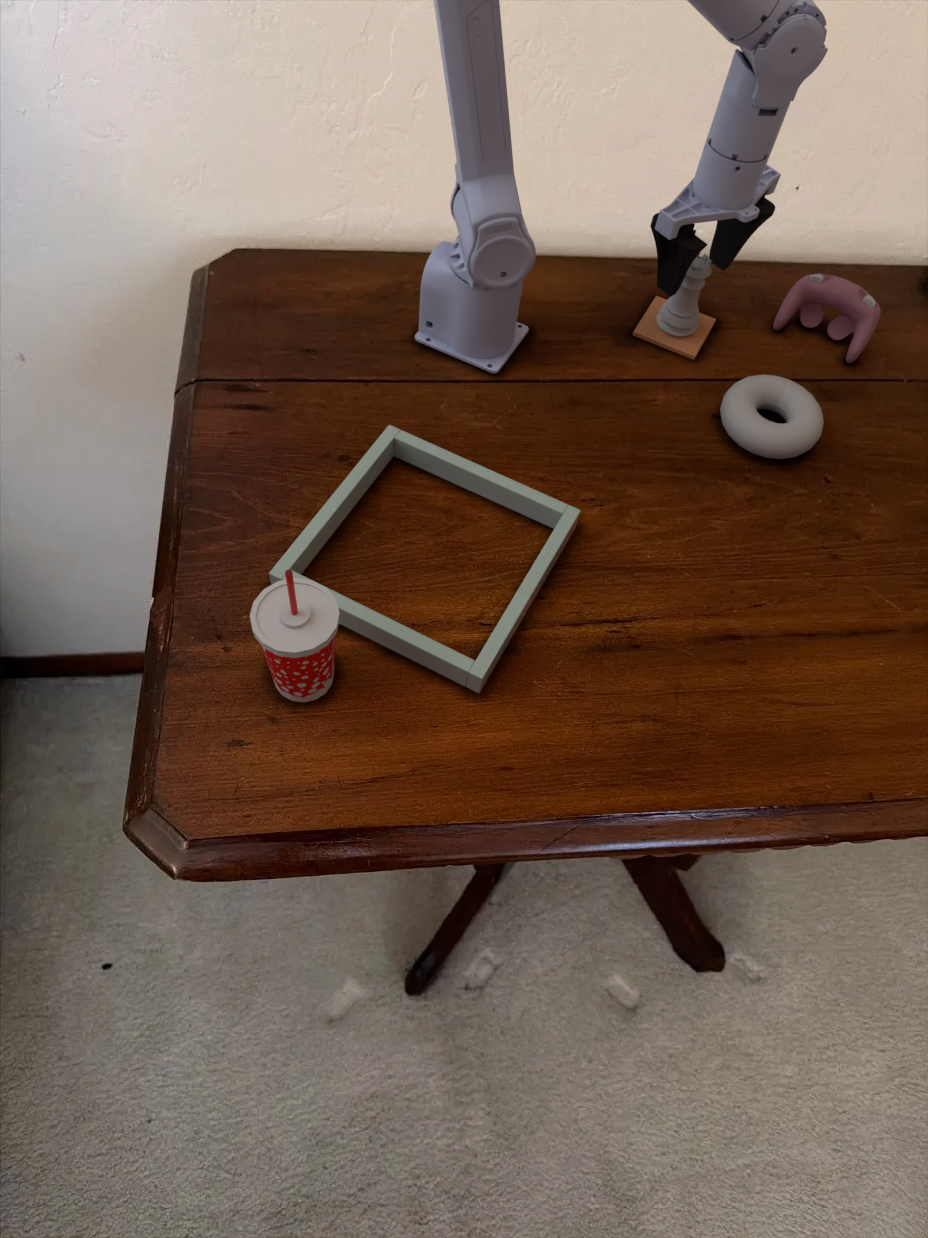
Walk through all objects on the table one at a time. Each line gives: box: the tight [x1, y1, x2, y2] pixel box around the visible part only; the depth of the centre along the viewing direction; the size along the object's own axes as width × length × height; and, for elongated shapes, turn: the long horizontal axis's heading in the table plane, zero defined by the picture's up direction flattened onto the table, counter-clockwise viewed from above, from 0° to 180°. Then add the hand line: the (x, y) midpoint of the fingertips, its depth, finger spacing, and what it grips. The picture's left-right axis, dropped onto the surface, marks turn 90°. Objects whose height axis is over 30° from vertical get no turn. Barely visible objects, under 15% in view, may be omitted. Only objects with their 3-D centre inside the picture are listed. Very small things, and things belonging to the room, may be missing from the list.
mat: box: [632, 295, 717, 361], centre depth 94 cm, size 7×7×1 cm
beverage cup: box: [249, 570, 340, 703], centre depth 62 cm, size 6×6×14 cm
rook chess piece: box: [656, 252, 713, 337], centre depth 90 cm, size 4×4×8 cm
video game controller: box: [773, 272, 882, 364], centre depth 94 cm, size 10×5×7 cm, turn 58°
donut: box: [719, 374, 825, 460], centre depth 86 cm, size 10×3×10 cm
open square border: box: [268, 424, 582, 694], centre depth 74 cm, size 19×19×2 cm
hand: (692, 276), depth 89 cm, fingers open, 7 cm apart
